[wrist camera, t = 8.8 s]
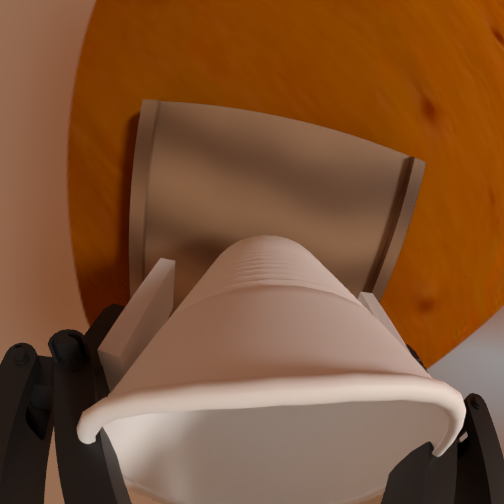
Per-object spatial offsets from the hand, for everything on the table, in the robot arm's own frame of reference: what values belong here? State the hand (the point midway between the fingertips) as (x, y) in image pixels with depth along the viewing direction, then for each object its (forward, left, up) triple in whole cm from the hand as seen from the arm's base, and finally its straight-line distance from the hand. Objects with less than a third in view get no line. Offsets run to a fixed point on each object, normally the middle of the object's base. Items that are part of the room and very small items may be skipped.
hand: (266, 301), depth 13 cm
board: (0, 0, -6) cm, 6 cm away
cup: (0, 0, -2) cm, 2 cm away
